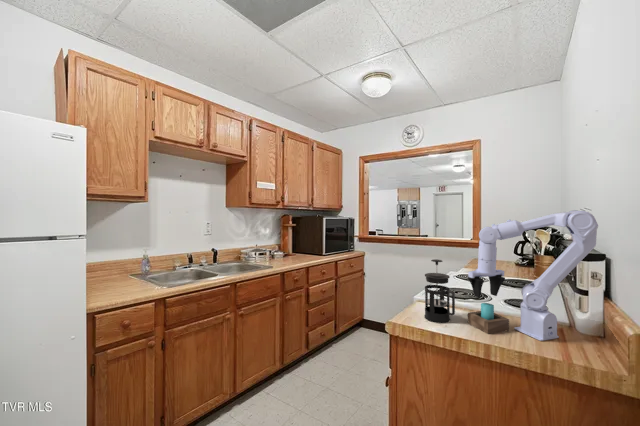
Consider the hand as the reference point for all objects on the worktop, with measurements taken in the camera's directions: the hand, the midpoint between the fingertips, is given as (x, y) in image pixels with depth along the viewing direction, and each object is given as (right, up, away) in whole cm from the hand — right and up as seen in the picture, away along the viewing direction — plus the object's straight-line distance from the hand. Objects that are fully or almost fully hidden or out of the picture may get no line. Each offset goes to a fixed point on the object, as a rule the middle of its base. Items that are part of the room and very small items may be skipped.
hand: (485, 295), depth 103 cm
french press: (-15, -11, +6) cm, 19 cm away
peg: (-1, -11, -2) cm, 11 cm away
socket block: (-1, -11, -2) cm, 11 cm away
